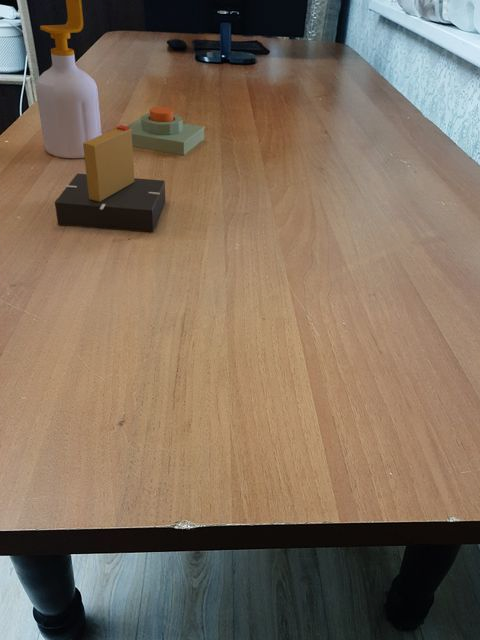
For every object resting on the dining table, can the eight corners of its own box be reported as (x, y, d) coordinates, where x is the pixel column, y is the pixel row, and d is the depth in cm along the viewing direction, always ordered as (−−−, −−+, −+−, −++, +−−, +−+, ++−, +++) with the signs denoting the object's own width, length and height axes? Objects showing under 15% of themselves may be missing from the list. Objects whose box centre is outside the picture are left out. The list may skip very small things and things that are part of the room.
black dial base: (54, 228, 71) (50, 204, 69) (81, 191, 81) (78, 169, 79) (152, 236, 71) (151, 212, 69) (167, 198, 81) (166, 176, 79)
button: (146, 121, 97) (145, 111, 96) (155, 116, 100) (155, 105, 99) (168, 125, 96) (167, 114, 95) (177, 119, 99) (176, 109, 98)
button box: (118, 144, 97) (116, 120, 95) (143, 129, 105) (142, 106, 103) (183, 155, 95) (183, 131, 93) (204, 139, 103) (204, 116, 101)
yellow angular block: (99, 202, 71) (93, 143, 66) (88, 199, 71) (82, 140, 67) (134, 181, 77) (131, 126, 72) (124, 179, 77) (120, 124, 73)
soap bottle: (35, 146, 93) (6, -33, 79) (86, 138, 99) (68, -32, 84) (61, 163, 88) (34, -25, 74) (113, 153, 94) (98, -24, 79)
